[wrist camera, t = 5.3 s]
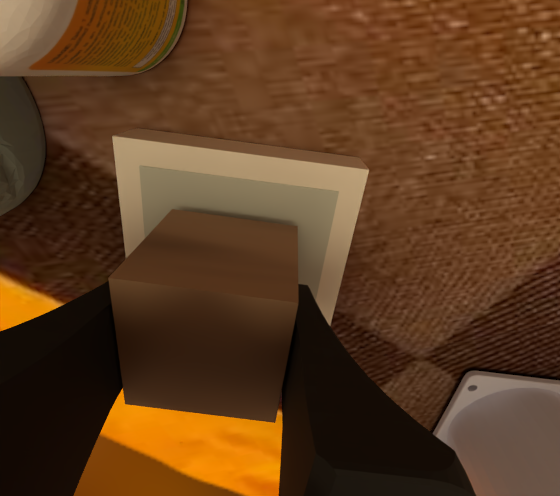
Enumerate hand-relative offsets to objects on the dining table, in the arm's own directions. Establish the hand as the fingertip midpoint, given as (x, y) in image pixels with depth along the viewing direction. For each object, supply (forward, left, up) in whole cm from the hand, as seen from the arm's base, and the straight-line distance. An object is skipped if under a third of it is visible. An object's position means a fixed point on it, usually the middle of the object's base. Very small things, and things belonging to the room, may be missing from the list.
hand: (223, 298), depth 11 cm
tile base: (0, 0, -4) cm, 4 cm away
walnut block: (0, 0, -2) cm, 2 cm away
